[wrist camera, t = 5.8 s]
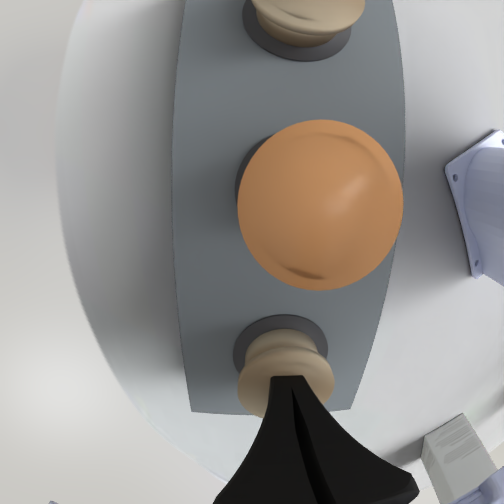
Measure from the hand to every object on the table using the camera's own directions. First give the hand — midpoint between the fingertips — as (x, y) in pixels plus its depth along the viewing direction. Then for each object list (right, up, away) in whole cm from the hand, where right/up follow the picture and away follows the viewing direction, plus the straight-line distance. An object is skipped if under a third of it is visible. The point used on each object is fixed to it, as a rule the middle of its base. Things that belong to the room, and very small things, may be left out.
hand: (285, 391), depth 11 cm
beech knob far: (0, +1, +2) cm, 2 cm away
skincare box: (+24, -19, +13) cm, 33 cm away
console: (0, +10, +4) cm, 10 cm away
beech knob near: (+1, +16, -3) cm, 16 cm away
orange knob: (0, +8, -2) cm, 8 cm away
